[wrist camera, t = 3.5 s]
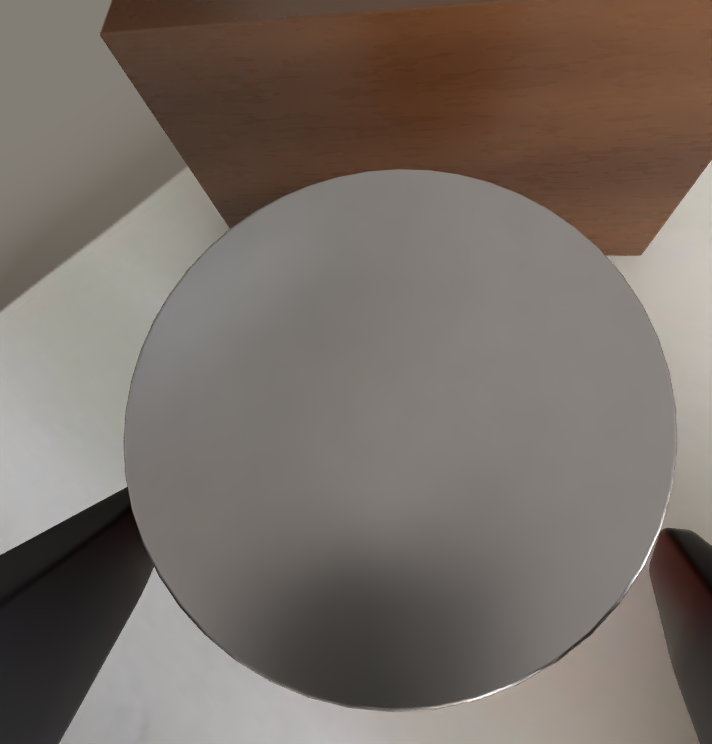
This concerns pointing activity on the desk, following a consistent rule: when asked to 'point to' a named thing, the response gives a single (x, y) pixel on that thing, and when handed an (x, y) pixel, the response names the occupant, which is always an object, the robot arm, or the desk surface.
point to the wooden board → (434, 98)
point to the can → (400, 440)
